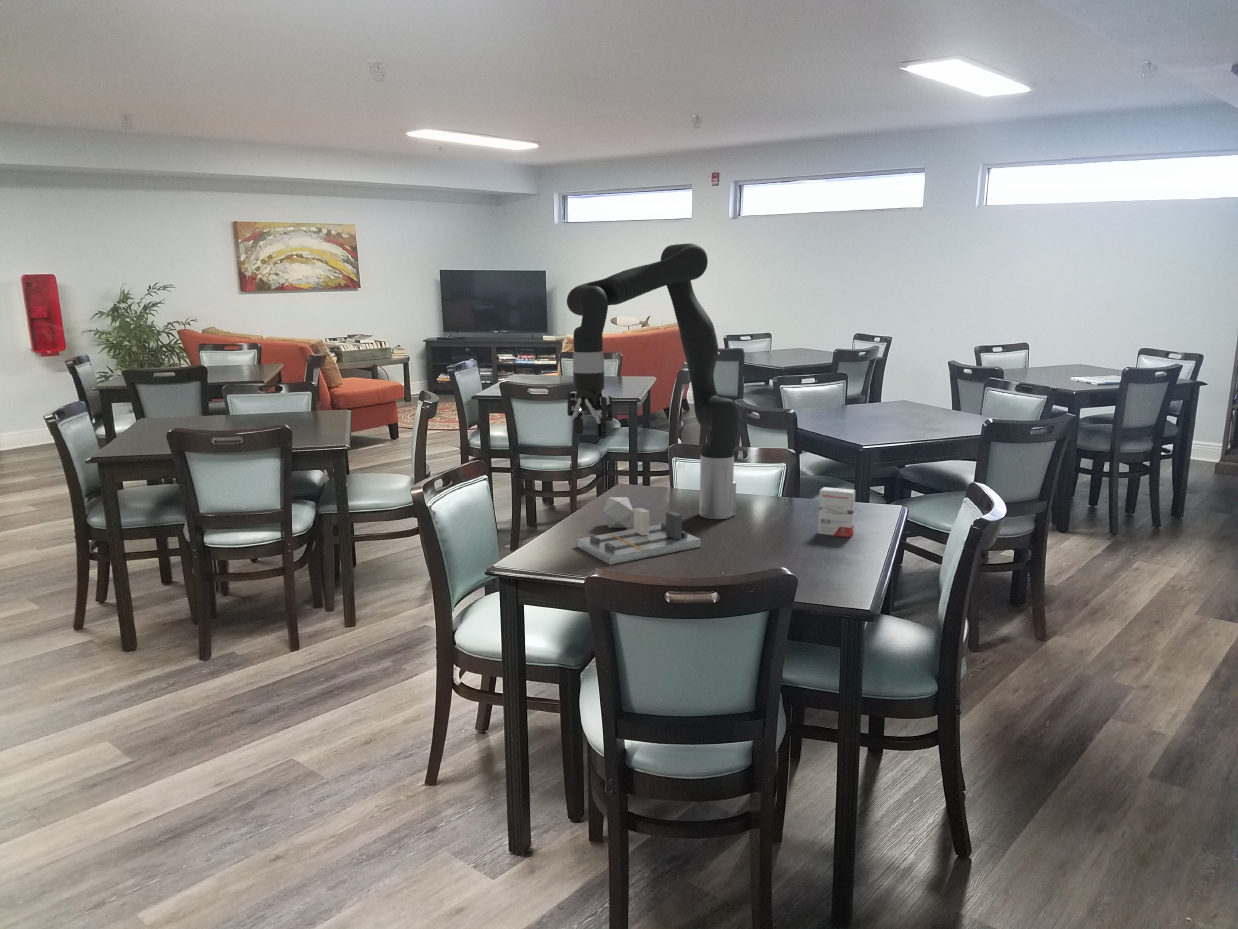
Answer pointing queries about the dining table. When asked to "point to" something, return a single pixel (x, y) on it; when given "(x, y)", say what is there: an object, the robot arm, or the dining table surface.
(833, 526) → the ink box
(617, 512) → the die
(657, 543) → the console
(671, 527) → the fader near
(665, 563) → the dining table surface
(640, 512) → the block
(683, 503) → the dining table surface
